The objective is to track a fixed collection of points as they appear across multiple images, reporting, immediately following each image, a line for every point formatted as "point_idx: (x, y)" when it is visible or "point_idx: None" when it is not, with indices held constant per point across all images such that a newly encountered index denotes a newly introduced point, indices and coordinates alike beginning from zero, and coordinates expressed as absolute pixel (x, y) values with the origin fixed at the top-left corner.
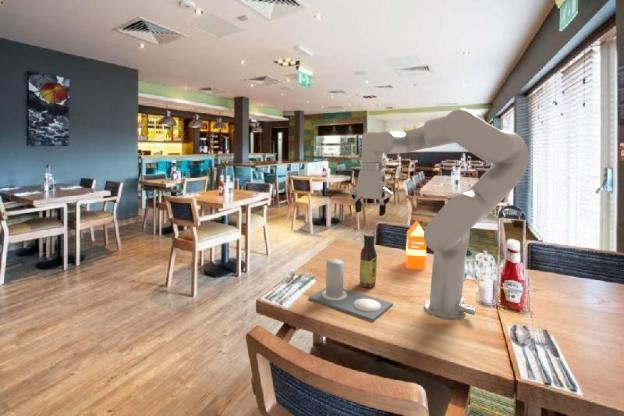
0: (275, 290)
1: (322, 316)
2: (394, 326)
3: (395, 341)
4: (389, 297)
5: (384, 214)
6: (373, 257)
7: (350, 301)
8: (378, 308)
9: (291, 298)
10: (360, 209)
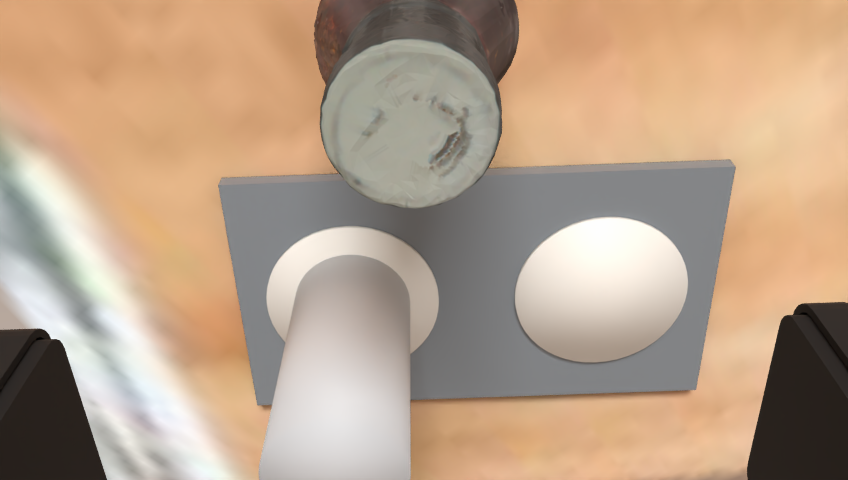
0: None
1: (448, 474)
2: None
3: None
4: (669, 61)
5: (841, 308)
6: (504, 71)
7: (489, 309)
8: (681, 293)
9: (180, 439)
10: (50, 423)
